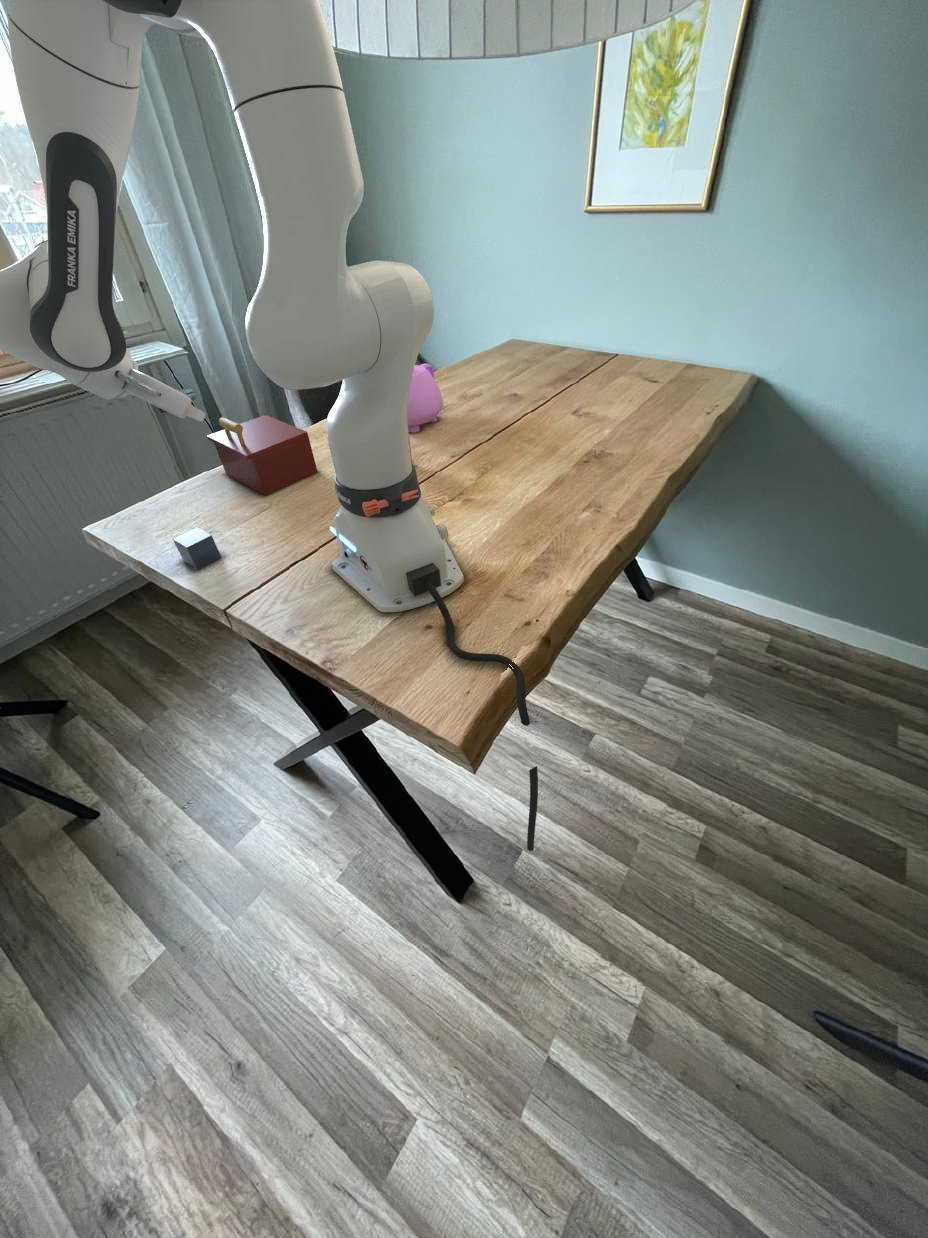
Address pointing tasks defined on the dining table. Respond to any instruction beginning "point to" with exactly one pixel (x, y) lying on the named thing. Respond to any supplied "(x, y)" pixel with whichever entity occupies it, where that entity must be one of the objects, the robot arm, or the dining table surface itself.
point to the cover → (255, 435)
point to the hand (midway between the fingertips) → (190, 411)
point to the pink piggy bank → (423, 398)
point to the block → (197, 548)
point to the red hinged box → (271, 466)
